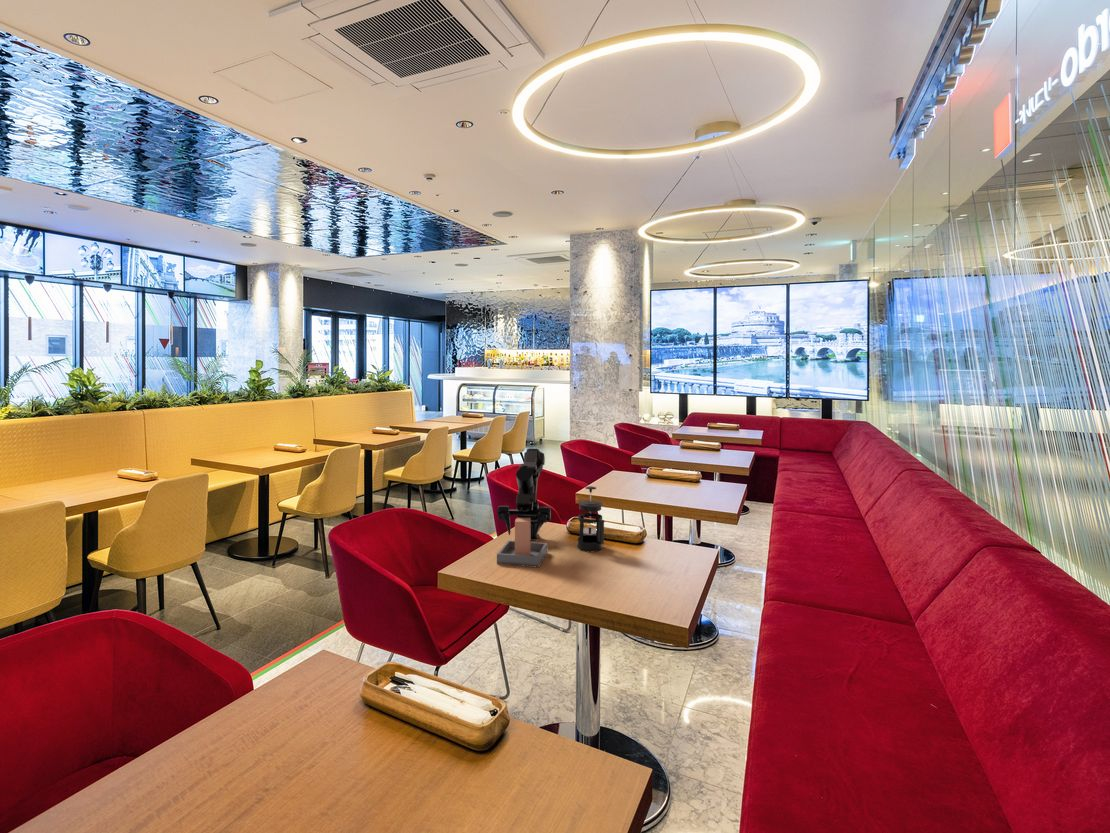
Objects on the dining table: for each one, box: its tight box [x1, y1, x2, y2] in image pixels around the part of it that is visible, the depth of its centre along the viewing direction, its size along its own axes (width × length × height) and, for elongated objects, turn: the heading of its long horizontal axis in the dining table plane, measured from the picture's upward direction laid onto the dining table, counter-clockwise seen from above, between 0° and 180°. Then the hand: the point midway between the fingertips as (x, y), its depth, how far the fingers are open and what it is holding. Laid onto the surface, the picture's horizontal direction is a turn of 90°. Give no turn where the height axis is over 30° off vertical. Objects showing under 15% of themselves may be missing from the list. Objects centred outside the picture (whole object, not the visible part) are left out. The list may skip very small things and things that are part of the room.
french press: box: [576, 485, 605, 553], centre depth 208 cm, size 12×9×23 cm
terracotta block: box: [514, 517, 532, 556], centre depth 197 cm, size 5×5×13 cm
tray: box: [496, 540, 548, 568], centre depth 198 cm, size 15×15×4 cm
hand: (522, 534), depth 196 cm, fingers open, 9 cm apart
